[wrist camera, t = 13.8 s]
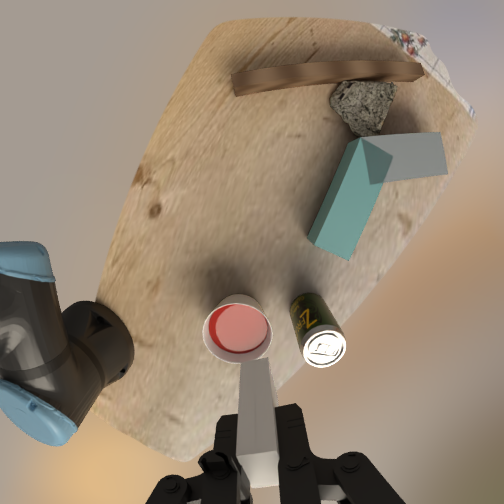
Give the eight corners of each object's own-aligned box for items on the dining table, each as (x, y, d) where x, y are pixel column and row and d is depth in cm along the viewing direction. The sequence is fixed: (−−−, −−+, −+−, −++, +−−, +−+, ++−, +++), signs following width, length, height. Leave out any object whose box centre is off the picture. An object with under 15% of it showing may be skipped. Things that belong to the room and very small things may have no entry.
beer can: (330, 297, 42) (355, 335, 30) (315, 328, 43) (334, 373, 31) (297, 286, 41) (313, 322, 30) (283, 318, 43) (293, 362, 31)
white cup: (202, 330, 43) (194, 351, 37) (219, 277, 41) (213, 293, 35) (257, 348, 44) (258, 371, 38) (278, 297, 42) (283, 316, 36)
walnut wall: (235, 96, 36) (233, 87, 32) (232, 84, 35) (230, 74, 31) (412, 82, 34) (424, 74, 30) (408, 70, 34) (420, 63, 30)
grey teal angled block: (310, 258, 40) (317, 267, 35) (289, 151, 37) (295, 146, 32) (435, 230, 39) (453, 235, 34) (422, 136, 36) (440, 132, 31)
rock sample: (334, 54, 31) (389, 74, 26) (362, 70, 35) (411, 91, 31) (309, 119, 37) (358, 147, 32) (340, 126, 42) (384, 152, 37)
